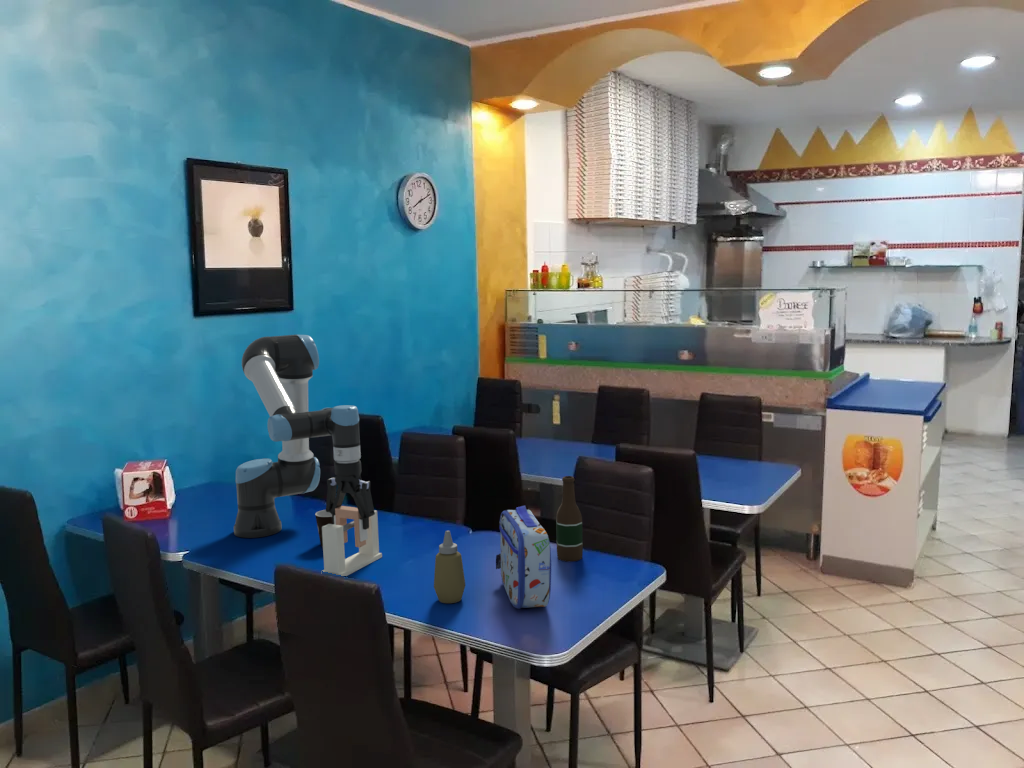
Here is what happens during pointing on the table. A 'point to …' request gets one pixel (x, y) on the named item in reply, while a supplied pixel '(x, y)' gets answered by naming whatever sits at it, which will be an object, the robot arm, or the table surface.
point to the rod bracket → (336, 553)
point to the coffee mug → (323, 522)
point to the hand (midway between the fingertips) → (351, 538)
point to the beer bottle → (569, 525)
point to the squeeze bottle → (449, 572)
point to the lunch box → (524, 559)
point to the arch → (341, 519)
